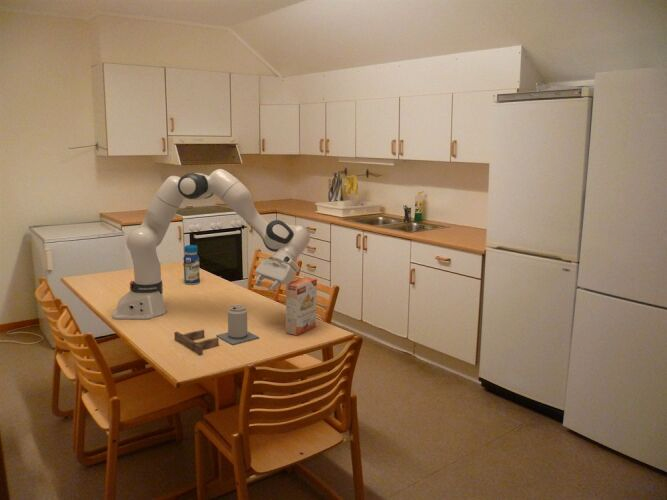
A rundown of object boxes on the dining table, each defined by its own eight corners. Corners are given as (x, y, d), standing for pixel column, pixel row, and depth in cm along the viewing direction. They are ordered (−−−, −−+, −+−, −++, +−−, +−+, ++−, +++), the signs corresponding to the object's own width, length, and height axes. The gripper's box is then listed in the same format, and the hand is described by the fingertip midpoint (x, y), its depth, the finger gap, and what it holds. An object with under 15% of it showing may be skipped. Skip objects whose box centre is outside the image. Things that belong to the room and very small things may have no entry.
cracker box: (297, 336, 225) (297, 285, 221) (284, 333, 228) (285, 283, 224) (316, 326, 237) (317, 278, 233) (304, 324, 240) (305, 276, 236)
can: (229, 332, 226) (228, 303, 224) (248, 332, 227) (247, 303, 224) (227, 339, 219) (226, 309, 216) (246, 339, 219) (246, 309, 217)
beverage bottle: (193, 280, 306) (191, 243, 302) (203, 282, 302) (202, 245, 297) (180, 283, 300) (179, 246, 296) (191, 285, 295) (189, 248, 291)
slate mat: (232, 345, 215) (232, 343, 214) (216, 336, 223) (216, 335, 223) (259, 338, 222) (259, 336, 222) (242, 330, 231) (242, 328, 231)
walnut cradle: (199, 355, 205) (199, 347, 204) (174, 339, 219) (174, 332, 219) (224, 348, 211) (223, 341, 210) (198, 333, 226) (197, 326, 225)
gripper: (264, 251, 237) (244, 278, 233) (294, 260, 222) (273, 288, 218) (273, 260, 241) (253, 286, 237) (302, 269, 226) (283, 297, 222)
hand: (263, 287), depth 227 cm, fingers open, 8 cm apart
